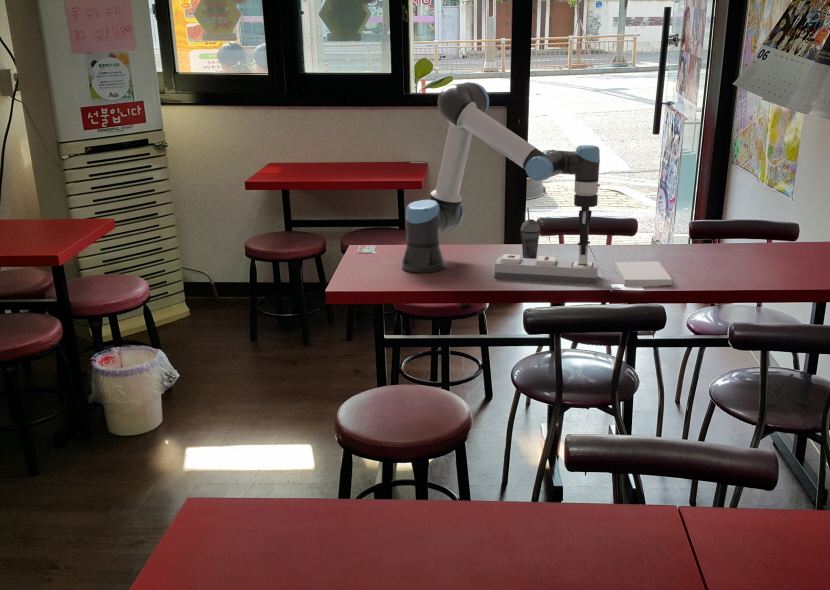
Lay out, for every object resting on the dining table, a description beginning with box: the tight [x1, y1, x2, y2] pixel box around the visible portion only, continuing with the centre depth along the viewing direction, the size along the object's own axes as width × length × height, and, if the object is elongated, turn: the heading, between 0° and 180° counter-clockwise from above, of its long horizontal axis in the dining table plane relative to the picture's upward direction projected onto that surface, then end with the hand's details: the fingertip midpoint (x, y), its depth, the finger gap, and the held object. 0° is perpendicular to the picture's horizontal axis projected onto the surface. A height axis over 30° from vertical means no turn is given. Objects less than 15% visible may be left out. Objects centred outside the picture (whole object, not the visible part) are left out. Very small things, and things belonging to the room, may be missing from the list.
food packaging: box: [614, 261, 673, 288], centre depth 273 cm, size 15×3×20 cm
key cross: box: [573, 261, 593, 268], centre depth 272 cm, size 6×6×3 cm
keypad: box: [493, 256, 599, 284], centre depth 275 cm, size 34×9×5 cm, turn 75°
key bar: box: [536, 255, 557, 266], centre depth 274 cm, size 6×6×3 cm
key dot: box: [501, 253, 522, 264], centre depth 277 cm, size 6×6×3 cm
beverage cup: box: [519, 207, 542, 259], centre depth 292 cm, size 7×7×20 cm
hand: (582, 263), depth 271 cm, fingers closed
